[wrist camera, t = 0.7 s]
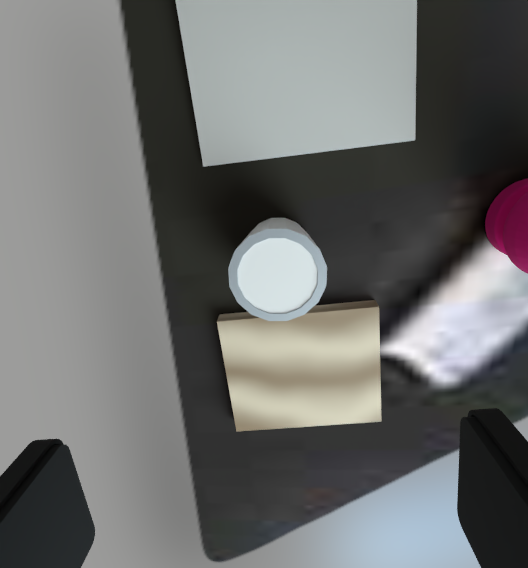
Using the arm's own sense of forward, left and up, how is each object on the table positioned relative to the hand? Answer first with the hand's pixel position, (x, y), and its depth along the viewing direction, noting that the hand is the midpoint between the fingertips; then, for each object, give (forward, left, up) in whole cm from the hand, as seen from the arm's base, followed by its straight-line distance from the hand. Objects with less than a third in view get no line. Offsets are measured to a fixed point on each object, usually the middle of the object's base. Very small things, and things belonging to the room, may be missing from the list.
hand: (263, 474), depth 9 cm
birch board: (+13, +1, -25) cm, 28 cm away
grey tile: (-12, +3, -25) cm, 28 cm away
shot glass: (+2, 0, -25) cm, 25 cm away
